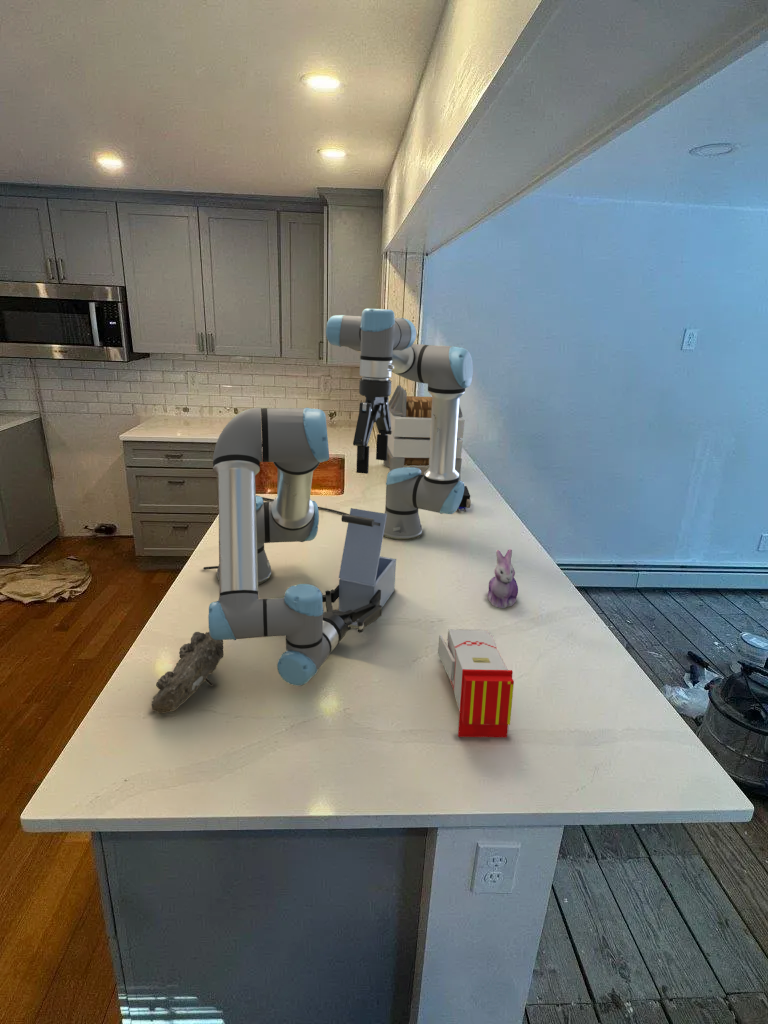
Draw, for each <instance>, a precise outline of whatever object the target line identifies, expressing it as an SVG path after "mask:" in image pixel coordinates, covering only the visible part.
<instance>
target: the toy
mask: <svg viewBox="0 0 768 1024" xmlns="http://www.w3.org/2000/svg"><path fill="white" fill-rule="evenodd" d="M446 640H447V643H446V641H445V639H444V636H443V635H442V634H439V637H438V646H437V656H438V657H439V659H440V661H441V663H442V666H443V668H444V670H445V672H446V674H447V677H448V679H449V681H450V684H451V687H452V690H453V693H454V697H455V701H456V705H457V708H458V711H459V714H458V715H459V716H458V730H457V731H458V732H457V737H458V738H508V731H509V726H510V725H511V717H512V707H513V697H514V696H513V695H514V684H515V680H514V679H513V673H514V671H513V670H512V669H508V667H507V665H506V662H505V661H504V659H503V658H502V655H501V653H500V651H499V649H498V647H497V643H496V639H495V637H494V635H493V634H491V632H490V631H489V629H467V628H466V629H465V628H463V629H461V628H460V629H459V628H448V630H447V639H446Z"/></svg>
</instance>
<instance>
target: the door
mask: <svg viewBox="0 0 768 1024" xmlns="http://www.w3.org/2000/svg"><path fill="white" fill-rule="evenodd" d="M349 514H350V515H346V514H341V522H342V523H347V526H346V527H347V528H346V533H345V539H344V544H343V550H342V556H341V561H340V568H339V575H338V579H345V580H350V581H355V582H360V583H365V584H370V585H375V582H376V576H377V570H378V564H379V558H380V556H381V553H382V552H381V551H382V546H383V542H384V541H383V540H384V536H383V535H384V529H385V523H386V518H387V514H385V512H377V511H372V510H365V509H359V508H352V507H351V508H350V509H349Z"/></svg>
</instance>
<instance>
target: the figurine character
mask: <svg viewBox="0 0 768 1024" xmlns="http://www.w3.org/2000/svg"><path fill="white" fill-rule="evenodd" d="M471 501H472V500H471V494H470V491H469V488H468V486H467V485H464V493H463V497H462V500H461V503H460V505H459V507H458V509H457V510H456V512H460V510H463V511H464V513H466V512H467V509H470V508H471V505H472V504H471ZM466 508H467V509H466Z"/></svg>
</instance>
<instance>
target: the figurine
mask: <svg viewBox="0 0 768 1024" xmlns="http://www.w3.org/2000/svg"><path fill="white" fill-rule="evenodd" d="M495 555H496V566H495V567H494V573H493V574H494V576H493V577H492V578H491V579H490V580H489V582H488V591H487V600H488V601H489V603H490V605H491V606H492V607H495V608H500V609H506V608H507V607H511V606H513V605H514V604H515V603H516V601H517V597H518V595H519V585H518V583H517V579H515V575H516V571H515V567H514V565H513V564H512V558H513V557H512V556H513V550H512V548H509V549H508V550H507V551H506V553H505V555H504V556H503V554H502V551H500V550H499V549H497V550H496V551H495Z"/></svg>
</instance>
